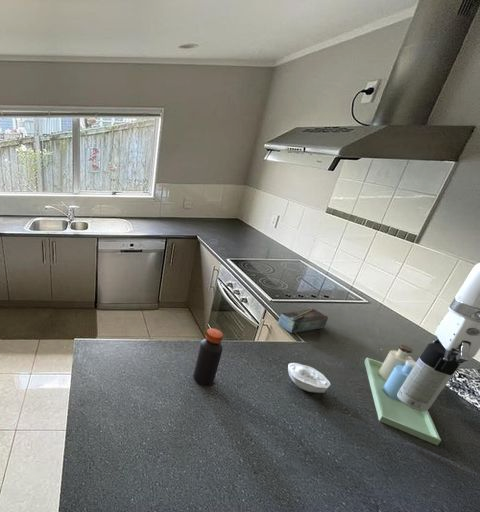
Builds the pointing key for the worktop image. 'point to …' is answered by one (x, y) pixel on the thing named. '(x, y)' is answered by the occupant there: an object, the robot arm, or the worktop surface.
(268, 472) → the worktop surface
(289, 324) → the beverage carton
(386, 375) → the cream bottle
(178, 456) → the worktop surface
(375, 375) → the tray
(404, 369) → the pale blue bottle
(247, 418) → the worktop surface
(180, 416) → the worktop surface
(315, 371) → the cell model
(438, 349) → the spray can
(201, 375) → the vinegar
